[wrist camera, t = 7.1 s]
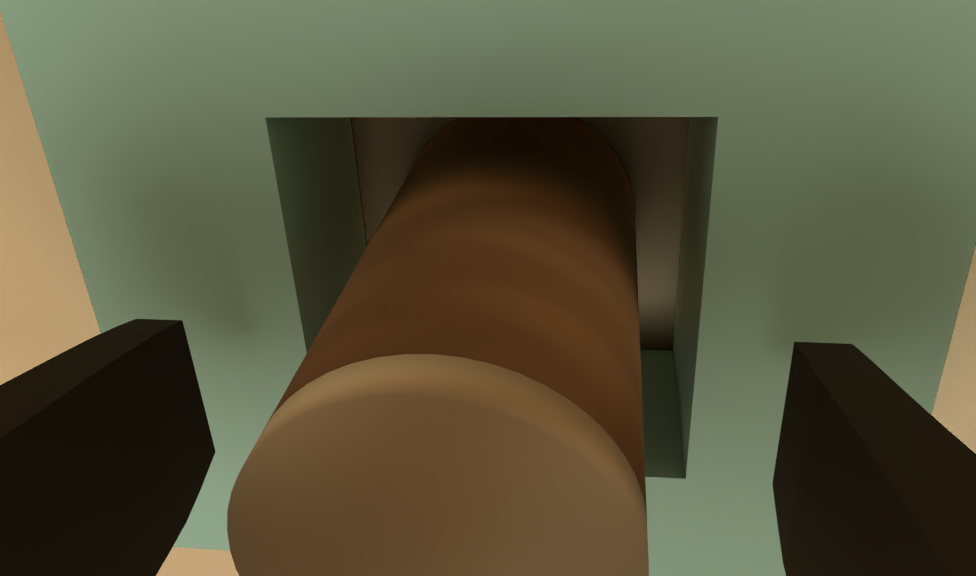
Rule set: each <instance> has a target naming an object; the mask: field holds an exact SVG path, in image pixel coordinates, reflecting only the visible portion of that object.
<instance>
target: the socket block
mask: <svg viewBox="0 0 976 576" xmlns="http://www.w3.org/2000/svg"><path fill="white" fill-rule="evenodd" d="M0 11H1V14H2V18H3V21H4V24H5V27H6V31H7V34H8V37H9V40H10V43H11V47H12V50H13V53H14V56H15V59H16V63H17V66H18V69H19V72H20V75H21V79H22V82H23V85H24V88H25V91H26V95H27V98H28V101H29V104H30V108H31V111H32V114H33V117H34V120H35V124H36V127H37V130H38V133H39V136H40V140H41V143H42V146H43V149H44V152H45V156H46V159H47V162H48V165H49V168H50V172H51V175H52V178H53V181H54V185H55V188H56V191H57V194H58V197H59V201H60V204H61V207H62V210H63V213H64V217H65V220H66V223H67V226H68V229H69V233H70V236H71V239H72V242H73V245H74V249H75V252H76V255H77V258H78V262H79V265H80V268H81V271H82V274H83V278H84V281H85V284H86V287H87V290H88V294H89V297H90V300H91V303H92V306H93V310H94V313H95V316H96V319H97V322H98V326H99V329H100V332H101V333H103V332H106V331H108V330H110V329H112V328H114V327H117V326H119V325H121V324H124V323H127V322H129V321H132V320H134V319H160V320H182V321H183V325H184V328H185V332H186V336H187V340H188V344H189V348H190V352H191V356H192V360H193V364H194V368H195V372H196V376H197V380H198V384H199V388H200V392H201V396H202V400H203V404H204V408H205V412H206V416H207V420H208V424H209V428H210V432H211V436H212V440H213V443H214V447H215V451H216V452H215V454H214V457H213V460H212V462H211V465H210V467H209V470H208V472H207V475H206V477H205V480H204V483H203V485H202V488H201V490H200V492H199V495H198V497H197V499H196V502H195V504H194V506H193V508H192V511H191V513H190V515H189V518H188V520H187V522H186V524H185V526H184V528H183V529H182V531H181V533H180V535H179V536H178V538H177V540H176V542H175V543H174V545H173V547H184V548H198V549H212V550H226V551H230V547H229V540H228V533H227V510H228V505H229V500H230V496H231V491H232V489H233V486H234V484H235V481H236V479H237V477H238V474H239V472H240V470H241V468H242V467H243V465H244V463H245V461H246V460H247V458H248V456H249V454H250V453H251V451H252V449H253V447H254V446H255V444H256V442H257V440H258V438H259V437H260V435H261V433H262V431H263V430H264V428H265V426H266V424H267V423H268V421H269V419H270V417H271V416H272V414H273V412H274V410H275V409H276V407H277V405H278V403H279V401H280V400H281V398H282V396H283V394H284V393H285V391H286V389H287V387H288V386H289V384H290V382H291V380H292V379H293V377H294V375H295V373H296V372H297V370H298V368H299V366H300V365H301V363H302V361H303V359H304V357H305V356H306V354H307V352H308V350H309V349H310V347H311V345H312V343H313V342H314V340H315V338H316V336H317V335H318V333H319V331H320V329H321V328H322V326H323V324H324V322H325V320H326V319H327V317H328V315H329V313H330V312H331V310H332V308H333V306H334V305H335V303H336V301H337V299H338V298H339V296H340V294H341V292H342V291H343V289H344V287H345V285H346V283H347V282H348V280H349V278H350V276H351V275H352V273H353V271H354V269H355V268H356V266H357V264H358V262H359V261H360V259H361V257H362V255H363V254H364V252H365V250H366V248H367V245H366V237H365V229H364V221H363V213H362V205H361V197H360V189H359V181H358V174H357V166H356V158H355V150H354V142H353V134H352V126H351V118H350V117H690V121H689V135H688V149H687V162H686V176H685V190H684V203H683V217H682V231H681V244H680V258H679V272H678V285H677V299H676V312H675V326H674V340H673V350H649V349H640V358H641V383H642V408H643V433H644V458H645V483H646V508H647V533H648V558H649V576H786V573H785V569H784V565H783V559H782V552H781V545H780V538H779V532H778V524H777V516H776V509H775V501H774V493H773V485H772V483H773V476H774V470H775V463H776V457H777V450H778V444H779V437H780V431H781V424H782V418H783V411H784V405H785V398H786V392H787V385H788V379H789V372H790V366H791V359H792V353H793V346H794V342H815V343H844V344H853V345H854V346H855V347H857V348H858V349H859V350H860V351H861V352H862V353H864V354H865V355H866V356H867V357H868V358H869V359H870V360H871V361H873V362H874V363H875V364H876V365H877V366H878V367H879V368H880V369H881V370H882V371H883V372H885V373H886V374H887V375H888V376H889V377H890V378H891V379H892V380H893V381H894V382H895V383H897V384H898V385H899V386H900V387H901V388H902V389H903V390H904V391H905V392H906V393H907V394H909V395H910V396H911V397H912V398H913V399H914V400H915V401H916V402H917V403H918V404H919V405H921V406H922V407H923V408H924V409H925V410H926V411H927V412H928V413H929V414H932V410H933V406H934V402H935V398H936V395H937V391H938V387H939V383H940V379H941V375H942V372H943V368H944V364H945V360H946V356H947V352H948V349H949V345H950V341H951V337H952V333H953V329H954V326H955V322H956V318H957V314H958V310H959V306H960V302H961V299H962V295H963V291H964V287H965V283H966V279H967V276H968V272H969V268H970V264H971V260H972V256H973V253H974V249H975V245H976V0H0Z"/></svg>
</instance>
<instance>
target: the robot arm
mask: <svg viewBox="0 0 976 576" xmlns="http://www.w3.org/2000/svg"><path fill="white" fill-rule="evenodd" d="M215 452H216V451H215V447H214V443H213V440H212V436H211V432H210V428H209V424H208V420H207V416H206V412H205V408H204V404H203V400H202V396H201V392H200V388H199V384H198V380H197V376H196V372H195V368H194V364H193V360H192V356H191V352H190V348H189V344H188V340H187V336H186V332H185V328H184V325H183V321H182V320H160V319H134V320H132V321H129V322H127V323H124V324H121V325H119V326H117V327H114V328H112V329H110V330H108V331H106V332H103V333H101V334H99V335H97V336H95V337H93V338H91V339H89V340H87V341H85V342H83V343H81V344H79V345H77V346H75V347H73V348H71V349H69V350H67V351H65V352H63V353H61V354H59V355H57V356H56V357H54V358H52V359H50V360H48V361H46V362H44V363H42V364H40V365H38V366H36V367H34V368H33V369H31V370H29V371H27V372H25V373H23V374H21V375H19V376H17V377H15V378H13V379H12V380H10V381H8V382H6V383H4V384H2V385H0V576H156V574H157V573H158V571H159V569H160V567H161V566H162V564H163V562H164V561H165V559H166V557H167V555H168V554H169V552H170V550H171V549H172V547H173V545H174V543H175V542H176V540H177V538H178V536H179V535H180V533H181V531H182V529H183V528H184V526H185V524H186V522H187V520H188V518H189V515H190V513H191V511H192V508H193V506H194V504H195V502H196V499H197V497H198V495H199V492H200V490H201V488H202V485H203V483H204V480H205V477H206V475H207V472H208V470H209V467H210V465H211V462H212V460H213V457H214V454H215ZM772 485H773V493H774V501H775V509H776V516H777V524H778V532H779V538H780V545H781V552H782V559H783V565H784V569H785V573H786V576H976V454H975V453H974V452H973V451H971V450H970V449H969V448H968V447H967V446H966V445H965V444H963V443H962V442H961V441H960V440H959V439H958V438H956V437H955V436H954V435H953V434H952V433H951V432H950V431H948V430H947V429H946V428H945V427H944V426H943V425H942V424H941V423H939V422H938V421H937V420H936V419H935V418H934V417H933V416H932V415H931V414H929V413H928V412H927V411H926V410H925V409H924V408H923V407H922V406H921V405H919V404H918V403H917V402H916V401H915V400H914V399H913V398H912V397H911V396H910V395H909V394H907V393H906V392H905V391H904V390H903V389H902V388H901V387H900V386H899V385H898V384H897V383H895V382H894V381H893V380H892V379H891V378H890V377H889V376H888V375H887V374H886V373H885V372H883V371H882V370H881V369H880V368H879V367H878V366H877V365H876V364H875V363H874V362H873V361H871V360H870V359H869V358H868V357H867V356H866V355H865V354H864V353H862V352H861V351H860V350H859V349H858V348H857V347H855V346H854V345H853V344H844V343H815V342H794V346H793V353H792V359H791V366H790V372H789V379H788V385H787V392H786V398H785V405H784V411H783V418H782V424H781V431H780V437H779V444H778V450H777V457H776V463H775V470H774V476H773V483H772Z"/></svg>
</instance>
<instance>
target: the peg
mask: <svg viewBox="0 0 976 576" xmlns="http://www.w3.org/2000/svg"><path fill="white" fill-rule="evenodd" d="M227 533H228V540H229V547H230V551H231V554H232V558H233V561H234V564H235V567H236V570H237V572H238V574H239V576H649V558H648V533H647V508H646V483H645V458H644V433H643V408H642V383H641V358H640V333H639V308H638V283H637V258H636V233H635V208H634V199H633V193H632V189H631V185H630V182H629V179H628V176H627V174H626V172H625V169H624V167H623V165H622V163H621V162H620V160H619V159H618V157H617V155H616V154H615V152H614V151H613V150H612V149H611V147H610V146H609V145H608V144H607V143H606V142H605V140H604V139H603V138H601V137H600V136H599V135H598V134H597V133H596V132H595V131H594V130H593V129H591V128H590V127H588V126H587V125H585V124H584V123H582V122H581V121H579V120H578V119H576V118H574V117H459V118H457V119H455V120H454V121H452V122H451V123H449V124H448V125H446V126H445V127H444V128H443V129H441V130H440V131H439V132H438V133H437V134H436V135H435V136H434V137H433V138H432V139H431V140H430V141H429V143H428V144H427V145H426V146H425V147H424V149H423V151H422V152H421V154H420V155H419V157H418V158H417V160H416V162H415V164H414V165H413V167H412V169H411V171H410V173H409V174H408V176H407V178H406V180H405V181H404V183H403V185H402V187H401V188H400V190H399V192H398V194H397V195H396V197H395V199H394V201H393V202H392V204H391V206H390V208H389V209H388V211H387V213H386V215H385V217H384V218H383V220H382V222H381V224H380V225H379V227H378V229H377V231H376V232H375V234H374V236H373V238H372V239H371V241H370V243H369V245H368V246H367V248H366V250H365V252H364V254H363V255H362V257H361V259H360V261H359V262H358V264H357V266H356V268H355V269H354V271H353V273H352V275H351V276H350V278H349V280H348V282H347V283H346V285H345V287H344V289H343V291H342V292H341V294H340V296H339V298H338V299H337V301H336V303H335V305H334V306H333V308H332V310H331V312H330V313H329V315H328V317H327V319H326V320H325V322H324V324H323V326H322V328H321V329H320V331H319V333H318V335H317V336H316V338H315V340H314V342H313V343H312V345H311V347H310V349H309V350H308V352H307V354H306V356H305V357H304V359H303V361H302V363H301V365H300V366H299V368H298V370H297V372H296V373H295V375H294V377H293V379H292V380H291V382H290V384H289V386H288V387H287V389H286V391H285V393H284V394H283V396H282V398H281V400H280V401H279V403H278V405H277V407H276V409H275V410H274V412H273V414H272V416H271V417H270V419H269V421H268V423H267V424H266V426H265V428H264V430H263V431H262V433H261V435H260V437H259V438H258V440H257V442H256V444H255V446H254V447H253V449H252V451H251V453H250V454H249V456H248V458H247V460H246V461H245V463H244V465H243V467H242V468H241V470H240V472H239V474H238V477H237V479H236V481H235V484H234V486H233V489H232V491H231V496H230V500H229V505H228V510H227Z"/></svg>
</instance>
